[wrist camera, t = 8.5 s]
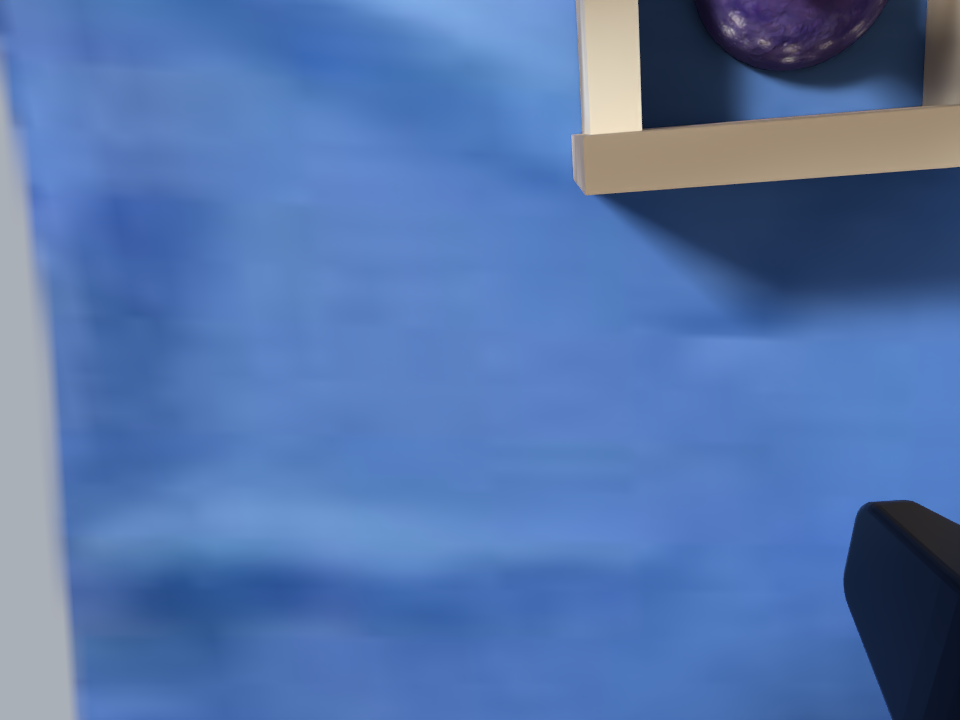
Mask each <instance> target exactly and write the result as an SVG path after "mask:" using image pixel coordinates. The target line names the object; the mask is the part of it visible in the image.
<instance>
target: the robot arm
mask: <svg viewBox="0 0 960 720" xmlns="http://www.w3.org/2000/svg"><path fill="white" fill-rule="evenodd" d="M844 593H845V597H846V601H847V604H848V607H849V609H850V612H851V614H852V617H853V620H854V622H855V625H856V627H857V630H858V632H859V635H860V638H861V640H862V643H863V645H864V648H865V650H866V653H867V656H868V658H869V661H870V663H871V666H872V669H873V671H874V674H875V676H876V679H877V681H878V684H879V687H880V689H881V692H882V694H883V697H884V700H885V702H886V705H887V707H888V710H889V712H890V715H891V718H892V720H960V525H959V524H957V523H955V522H953V521H951V520H949V519H947V518H945V517H943V516H941V515H939V514H937V513H935V512H933V511H931V510H929V509H927V508H925V507H924V506H922V505H920V504H918V503H915V502H913V501H909V500H894V501H877V502H868V503H866V504H864V505H863V506H862V507H861V508H860V509H859V511H858V513H857V516H856V519H855V523H854V528H853V533H852V537H851V542H850V547H849V552H848V556H847V561H846V566H845V570H844Z"/></svg>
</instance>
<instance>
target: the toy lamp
mask: <svg viewBox="0 0 960 720" xmlns="http://www.w3.org/2000/svg"><path fill="white" fill-rule="evenodd" d="M694 1H695V4H696V6H697V10H698V13H699V15H700V18H701V20H702V22H703V24H704V26H705V28H706V29H707V30H708V32H709V33H710V35H711V36H712V38H713V39H714V40H715V41H716V43H718V44H719V45H721V46H722V47H723V49H724V50H725V51H726V52H727V53H729V54H730V55H732V56H733V57H734V58H736V59H738V60H739V61H741V62H745V63H747V64H749V65H751V66H753V67H757V68H762V69H770V70H778V71H785V70H795V69H800V68H805V67H809V66H814V65H817V64H819V63H822V62H824V61H826V60H828V59H830V58H832V57H833V56H835V55H837V54H839V53H841V52H842V51H844V50H845V49H846V48H848V47H849V46H850V45H852V44H853V43H854V42H855V41H856V40H858V39H859V38H860V37H861V36H862V35H863V34H864V33H865V32H866V31H867V30H868V29H869V28H870V27H871V25H872V24H873V23H874V21H875V20H876V19H877V17H878V16H879V15H880V13H881V11H882V9H883V8H884V6H885V4H886V3H887V1H888V0H694Z"/></svg>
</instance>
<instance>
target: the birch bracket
mask: <svg viewBox="0 0 960 720" xmlns="http://www.w3.org/2000/svg"><path fill="white" fill-rule="evenodd" d="M576 14H577V34H578V55H579V75H580V96H581V117H582V134H573V135H571V138H572V157H573V176H574V180H575V182H576V183H577V184H578V186H579V187H580V188H581V190H582V191H583V192H584V194H585V195H597V194H610V193H623V192H636V191H649V190H662V189H675V188H688V187H702V186H715V185H728V184H741V183H754V182H767V181H780V180H793V179H806V178H820V177H833V176H846V175H859V174H872V173H885V172H898V171H911V170H924V169H938V168H951V167H960V0H927V19H926V40H925V61H924V82H923V104H922V106H915V107H903V108H891V109H878V110H866V111H854V112H842V113H830V114H817V115H805V116H793V117H781V118H769V119H756V120H744V121H732V122H720V123H708V124H695V125H683V126H671V127H659V128H647V129H642V109H641V78H640V46H639V14H638V0H576Z"/></svg>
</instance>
